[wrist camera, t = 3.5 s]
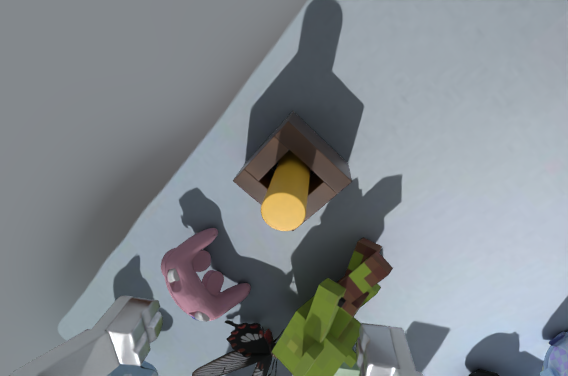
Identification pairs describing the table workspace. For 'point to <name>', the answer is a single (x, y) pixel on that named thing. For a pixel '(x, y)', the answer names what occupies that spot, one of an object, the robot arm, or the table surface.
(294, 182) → the peg
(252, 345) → the butterfly
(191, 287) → the video game controller
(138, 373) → the wolf head
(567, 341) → the pencil case
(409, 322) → the table surface
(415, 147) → the table surface
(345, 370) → the dish
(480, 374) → the microphone
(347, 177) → the stand
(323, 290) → the toy
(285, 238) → the table surface
